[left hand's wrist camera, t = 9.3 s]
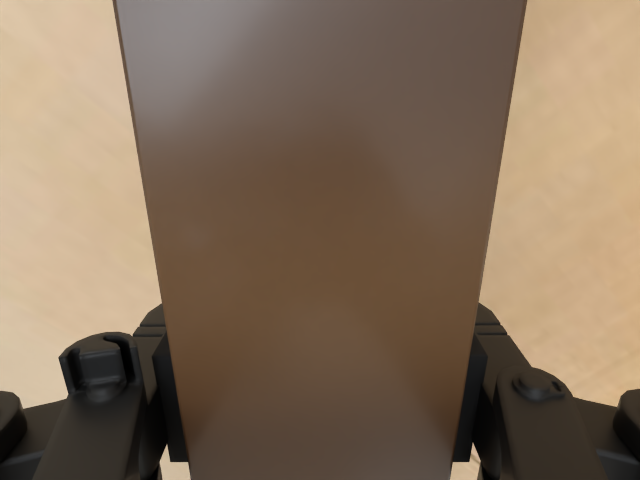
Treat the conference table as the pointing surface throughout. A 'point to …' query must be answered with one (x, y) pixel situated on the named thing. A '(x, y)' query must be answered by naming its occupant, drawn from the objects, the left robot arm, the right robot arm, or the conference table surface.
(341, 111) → the beam
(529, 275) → the conference table surface
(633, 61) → the conference table surface
